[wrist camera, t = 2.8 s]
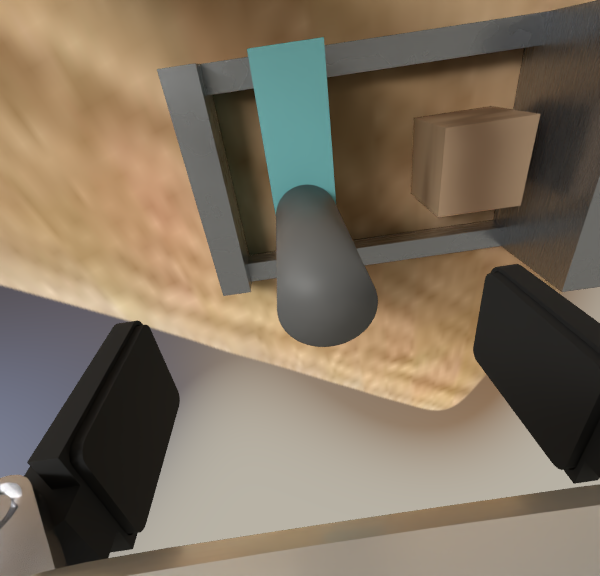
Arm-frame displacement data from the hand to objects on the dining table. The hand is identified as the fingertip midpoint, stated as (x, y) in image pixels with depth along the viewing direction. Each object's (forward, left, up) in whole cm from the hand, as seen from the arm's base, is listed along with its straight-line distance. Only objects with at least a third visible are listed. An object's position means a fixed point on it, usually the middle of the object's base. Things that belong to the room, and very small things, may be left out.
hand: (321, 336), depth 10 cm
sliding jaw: (0, 0, -15) cm, 15 cm away
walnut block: (-11, 0, -17) cm, 20 cm away
